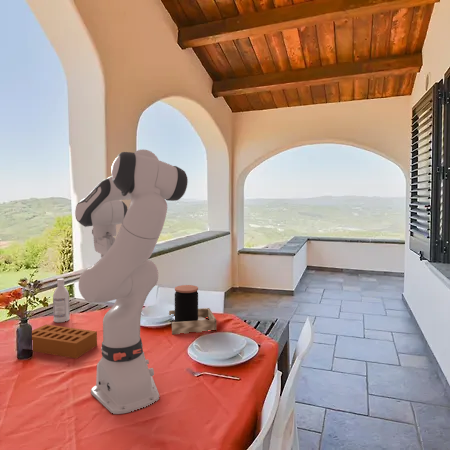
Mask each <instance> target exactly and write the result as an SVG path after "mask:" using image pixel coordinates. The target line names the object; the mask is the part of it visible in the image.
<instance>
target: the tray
mask: <svg viewBox="0 0 450 450" xmlns="http://www.w3.org/2000/svg"><path fill="white" fill-rule="evenodd" d="M171 314H174V316H175V309H173V310H168V316H169V315H171ZM199 316H201V317H203V318H206V317H208V319H209V320H208V319H206V320H197V321H183V322H175V321H171V334H172V335H181V334H180V333H184V334H190V333H189V332H196V333H203V332H202V331H208V330H216V331H217V318H216V317H215V315H214V313H213V312H212V311H211V308H210V307H204V308H198V317H199ZM208 332H209V331H208Z"/></svg>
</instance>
